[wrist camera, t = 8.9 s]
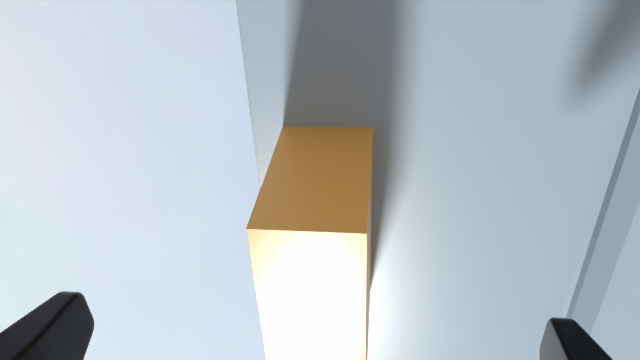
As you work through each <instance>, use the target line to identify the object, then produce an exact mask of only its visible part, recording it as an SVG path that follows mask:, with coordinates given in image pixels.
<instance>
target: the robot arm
mask: <svg viewBox="0 0 640 360" xmlns="http://www.w3.org/2000/svg"><path fill="white" fill-rule="evenodd" d="M93 329H94V319H93V317H92V314H91V312H90V309H89V307H88V305H87V302H86V300H85V297H84V296H83V295H82V294H81V293H79V292H66V291H63V292H59V293H57V294H56V295H54V296H53V297H51V298H50V299H49V300H47V301H46V302H44V303H43V304H41V305H40V306H38V307H37V308H36V309H34V310H33V311H31V312H30V313H28V314H27V315H25V316H24V317H23V318H21V319H20V320H18V321H17V322H15V323H14V324H12V325H11V326H10V327H8V328H7V329H5V330H4V331H2V332H1V333H0V360H83V359H84V356H85V353H86V350H87V348H88V345H89V342H90V339H91V336H92V333H93ZM539 357H540V360H613V359H612V358H611V357H610V356H609V355H608V354H607V353H606V352H605V351H604V350H603V349H602V348H601V347H600V346H599V345H598V344H597V342H596V341H595V340H594V339H593V338H592V337H591V336H590V335H589V334H588V333H587V332H586V331H585V330H584V329H583V328H582V327H581V326H580V325H579V324H578V323H577V322H576V321H575V320H573V319H571V318H556V317H552V318H550V319H549V320H548V321H547V324H546V327H545V330H544V334H543V337H542V341H541V344H540V349H539Z"/></svg>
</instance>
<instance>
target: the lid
mask: <svg viewBox="0 0 640 360" xmlns="http://www.w3.org/2000/svg"><path fill="white" fill-rule="evenodd" d="M236 5H237V13H238V21H239V29H240V36H241V44H242V52H243V60H244V68H245V75H246V83H247V91H248V99H249V107H250V115H251V122H252V130H253V138H254V146H255V154H256V161H257V169H258V177H259V185H260V192H259V194H258V197H257V200H256V203H255V206H254V209H253V211H252V214H251V217H250V220H249V223H248V225H247V228H246V231H247V237H248V244H249V250H250V257H251V263H252V270H253V276H254V283H255V289H256V296H257V302H258V309H259V315H260V322H261V328H262V335H263V341H264V348H265V354H266V360H540V357H539V349H540V344H541V341H542V337H543V334H544V330H545V327H546V324H547V321H548V320H549V319H550V318H552V317H556V318H571V319H573V320H575V321H576V322H577V323H578V324H579V325H580V326H581V327H582V328H583V329H584V330H585V331H586V332H587V333H588V334H589V335H590V336H591V337H592V338H593V339H594V340H595V341H596V342H597V344H598V345H599V346H600V347H601V348H602V349H603V350H604V351H605V352H606V353H607V354H608V355H609V356H610V357H611V358H612V359H613V360H640V0H236Z"/></svg>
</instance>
